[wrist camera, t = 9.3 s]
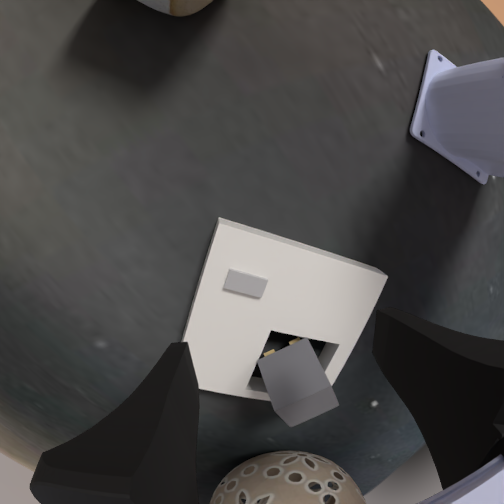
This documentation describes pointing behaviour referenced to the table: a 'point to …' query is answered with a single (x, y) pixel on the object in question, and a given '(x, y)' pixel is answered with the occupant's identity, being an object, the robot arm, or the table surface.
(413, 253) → the table surface
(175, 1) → the ceramic mug
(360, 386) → the table surface
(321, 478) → the ornament
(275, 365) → the plug
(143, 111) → the table surface
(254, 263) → the socket
